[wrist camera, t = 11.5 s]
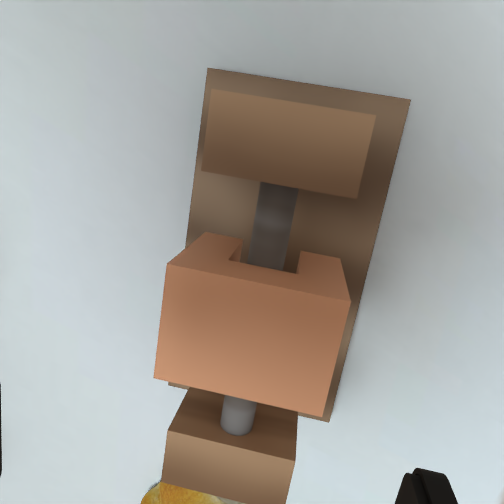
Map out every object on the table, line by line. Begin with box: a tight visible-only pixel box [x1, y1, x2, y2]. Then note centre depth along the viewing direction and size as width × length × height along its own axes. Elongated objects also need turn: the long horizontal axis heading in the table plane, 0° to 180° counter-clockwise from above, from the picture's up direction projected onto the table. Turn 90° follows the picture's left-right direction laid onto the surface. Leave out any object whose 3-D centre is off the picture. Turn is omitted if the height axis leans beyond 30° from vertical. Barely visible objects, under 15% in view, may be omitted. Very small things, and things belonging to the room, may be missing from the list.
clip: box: [154, 232, 351, 417], centre depth 19 cm, size 5×7×6 cm
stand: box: [161, 68, 411, 504], centre depth 23 cm, size 22×12×12 cm, turn 171°
